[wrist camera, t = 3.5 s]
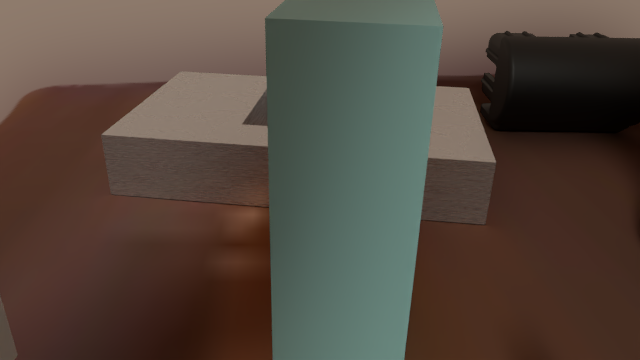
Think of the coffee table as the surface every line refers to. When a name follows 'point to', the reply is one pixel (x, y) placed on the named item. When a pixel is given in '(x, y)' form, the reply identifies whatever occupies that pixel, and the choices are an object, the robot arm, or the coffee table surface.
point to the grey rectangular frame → (252, 147)
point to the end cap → (562, 83)
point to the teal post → (347, 171)
